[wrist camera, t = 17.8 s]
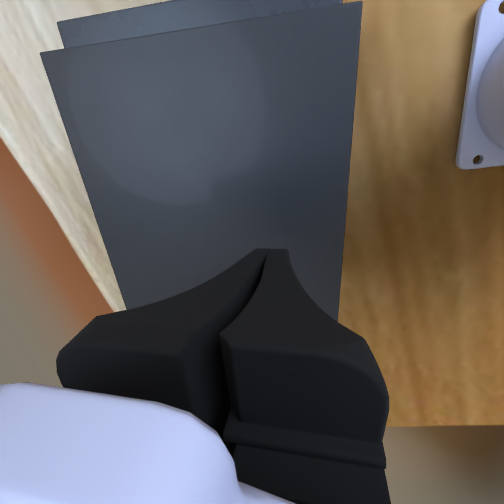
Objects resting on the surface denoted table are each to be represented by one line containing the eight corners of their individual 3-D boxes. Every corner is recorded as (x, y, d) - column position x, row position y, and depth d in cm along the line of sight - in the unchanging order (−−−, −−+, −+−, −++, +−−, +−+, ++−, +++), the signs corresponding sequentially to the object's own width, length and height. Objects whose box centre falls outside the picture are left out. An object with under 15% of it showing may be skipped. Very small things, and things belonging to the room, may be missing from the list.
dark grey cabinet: (130, 72, 18) (38, 52, 12) (343, 44, 15) (362, -1, 9) (174, 264, 24) (127, 314, 18) (331, 269, 22) (337, 330, 16)
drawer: (120, 21, 16) (44, -15, 12) (336, -18, 14) (347, -83, 9) (170, 246, 23) (134, 279, 18) (324, 248, 20) (327, 288, 15)
